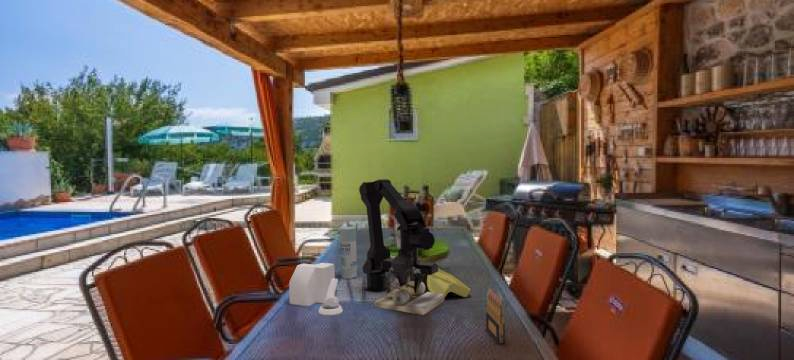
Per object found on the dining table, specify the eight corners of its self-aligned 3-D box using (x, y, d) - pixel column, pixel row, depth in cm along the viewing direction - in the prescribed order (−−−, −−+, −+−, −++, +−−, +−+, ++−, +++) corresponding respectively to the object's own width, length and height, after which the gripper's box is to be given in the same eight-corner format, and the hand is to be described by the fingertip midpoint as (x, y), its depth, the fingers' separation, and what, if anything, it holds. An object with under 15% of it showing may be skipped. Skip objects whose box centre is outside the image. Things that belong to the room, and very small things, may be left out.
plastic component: (472, 291, 170) (449, 281, 167) (463, 310, 170) (439, 300, 167) (449, 273, 189) (428, 264, 186) (441, 291, 189) (419, 282, 186)
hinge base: (373, 306, 161) (373, 288, 161) (397, 294, 175) (397, 277, 175) (423, 314, 153) (423, 296, 152) (444, 300, 167) (444, 283, 166)
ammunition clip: (485, 329, 140) (485, 287, 139) (492, 329, 140) (492, 287, 139) (498, 344, 129) (498, 299, 128) (505, 343, 129) (505, 298, 129)
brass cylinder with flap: (411, 299, 160) (411, 286, 160) (386, 296, 165) (386, 282, 164) (419, 294, 165) (419, 281, 165) (395, 291, 170) (395, 278, 170)
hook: (349, 288, 165) (349, 281, 159) (340, 323, 159) (340, 317, 153) (327, 283, 165) (326, 276, 159) (317, 318, 159) (316, 312, 153)
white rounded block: (335, 298, 171) (334, 264, 171) (316, 307, 161) (315, 271, 161) (309, 294, 176) (308, 261, 175) (289, 303, 166) (288, 268, 165)
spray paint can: (360, 276, 201) (359, 227, 200) (350, 279, 195) (348, 229, 194) (348, 274, 204) (346, 226, 203) (337, 277, 199) (336, 228, 198)
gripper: (372, 247, 160) (372, 294, 161) (423, 252, 151) (424, 302, 152) (389, 241, 170) (389, 286, 171) (438, 245, 161) (439, 293, 162)
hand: (409, 291), depth 164 cm, fingers closed on brass cylinder with flap, 4 cm apart
